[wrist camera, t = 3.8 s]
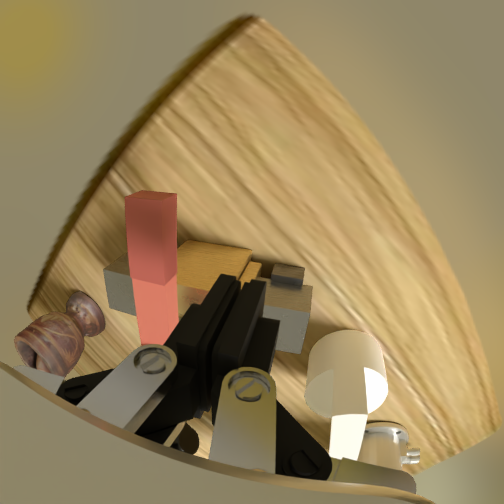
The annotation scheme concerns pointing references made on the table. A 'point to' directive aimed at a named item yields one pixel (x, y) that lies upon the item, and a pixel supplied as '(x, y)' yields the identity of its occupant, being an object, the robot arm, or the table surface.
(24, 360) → the mortar and pestle
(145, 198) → the lever
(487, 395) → the table surface
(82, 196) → the table surface
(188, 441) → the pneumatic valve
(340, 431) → the cylinder with rectangular tab
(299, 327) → the valve pipe
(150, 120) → the table surface
